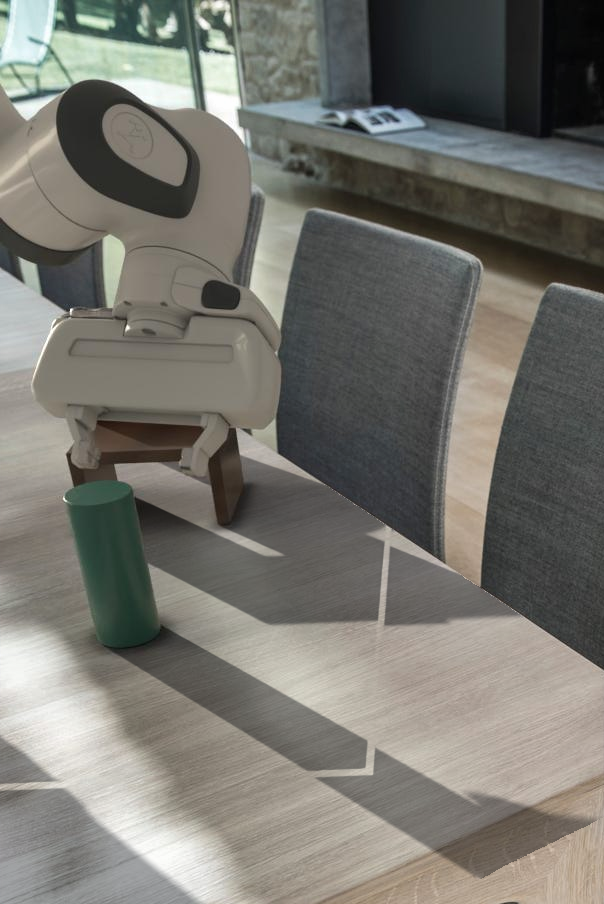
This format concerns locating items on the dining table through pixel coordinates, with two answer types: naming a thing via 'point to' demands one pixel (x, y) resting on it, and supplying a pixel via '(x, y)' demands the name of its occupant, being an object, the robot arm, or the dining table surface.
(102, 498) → the can
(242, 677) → the dining table surface
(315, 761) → the dining table surface
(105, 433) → the bench
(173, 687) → the dining table surface
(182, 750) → the dining table surface
